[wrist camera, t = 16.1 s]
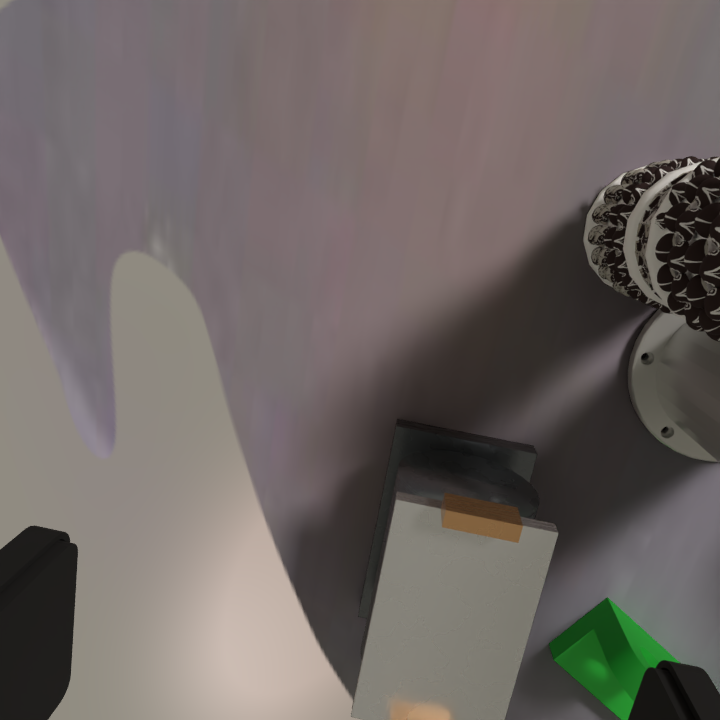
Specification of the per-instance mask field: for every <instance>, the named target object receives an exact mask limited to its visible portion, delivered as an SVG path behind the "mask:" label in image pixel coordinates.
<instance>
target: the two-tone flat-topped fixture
mask: <svg viewBox="0 0 720 720" xmlns="http://www.w3.org/2000/svg"><path fill="white" fill-rule="evenodd" d="M536 457H537V453H536V450H535V448H534V446H531V445H526V444H521V443H516V442H511V441H506V440H501V439H496V438H491V437H486V436H481V435H476V434H471V433H465V432H460V431H455V430H450V429H445V428H440V427H435V426H430V425H425V424H420V423H415V422H410V421H405V420H400V419H397V423H396V428H395V433H394V438H393V443H392V448H391V453H390V458H389V463H388V468H387V473H386V478H385V483H384V488H383V493H382V498H381V503H380V508H379V513H378V518H377V523H376V528H375V533H374V538H373V543H372V548H371V553H370V558H369V563H368V568H367V573H366V578H365V582H364V587H363V592H362V597H361V602H360V608H359V615H358V617H362V618H367V621H366V626H365V631H364V636H363V641H362V646H361V659H362V662H361V667H360V672H359V676H358V681H357V686H356V691H355V696H354V701H353V706H352V713H351V717H354V718H359V719H363V720H505V716H506V713H507V710H508V706H509V703H510V699H511V696H512V692H513V689H514V685H515V682H516V678H517V675H518V671H519V668H520V665H521V661H522V658H523V654H524V651H525V647H526V644H527V640H528V637H529V633H530V630H531V627H532V623H533V620H534V616H535V613H536V609H537V606H538V602H539V599H540V595H541V592H542V589H543V585H544V582H545V578H546V575H547V571H548V568H549V564H550V561H551V557H552V554H553V551H554V547H555V544H556V540H557V537H558V530H557V528H556V525H555V524H554V523H549V522H544V521H539V520H535V516H536V513H537V509H538V505H539V496H538V494H537V492H536V490H535V489H534V487H533V486H532V485H531V484H530V479H531V475H532V472H533V468H534V464H535V460H536Z"/></svg>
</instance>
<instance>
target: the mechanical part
mask: <svg viewBox="0 0 720 720" xmlns="http://www.w3.org/2000/svg"><path fill="white" fill-rule="evenodd" d="M549 646H550V649H551V653H552V656H553V660H554V661H555V662H556V663H558V664H559V665H560V666H561V667H562V668H563V669H564V670H565V671H567V672H568V673H569V674H570V675H571V676H572V677H573V678H575V679H576V680H577V681H578V682H579V683H580V684H581V685H582V686H584V687H585V688H586V689H587V690H588V691H589V692H590V693H592V694H593V695H594V696H595V697H596V698H597V699H598V700H600V701H601V702H602V703H603V704H604V705H605V706H606V707H607V708H609V709H610V710H611V711H612V712H613V713H614V714H615V715H617V716H618V717H619V718H620V719H621V720H628V718H629V715H630V712H631V709H632V707H633V704H634V701H635V698H636V695H637V692H638V690H639V687H640V684H641V681H642V678H643V675H644V673H645V671H646V670H647V669H648V668H649V667H653V668H656V666H657V664H658V663H659V662H660V661H663V660H667V661H672V662H676V663H679V662H678V661H677V660H676V659H675V658H674V657H673V656H672V655H671V654H670V653H668V652H667V651H666V650H665V649H664V648H663V647H662V646H661V645H660V644H658V643H657V642H656V641H655V640H654V639H653V638H652V637H651V636H650V635H649V634H647V633H646V632H645V631H644V630H643V629H642V628H641V627H640V626H639V625H637V624H636V623H635V622H634V621H633V620H632V619H631V618H630V617H629V616H627V615H626V614H625V613H624V612H623V611H622V610H621V609H620V608H619V607H618V606H616V605H615V604H614V603H613V602H612V601H611V600H610V599H609V598H608V597H607V598H606V599H605V600H604V601H602V602H601V603H600V604H599V605H597V606H596V607H595V608H593V609H592V610H591V611H590V612H588V613H587V614H586V615H585V616H583V617H582V618H581V619H580V620H578V621H577V622H576V623H574V624H573V625H572V626H571V627H569V628H568V629H567V630H566V631H564V632H563V633H562V634H561V635H559V636H558V637H557V638H555V639H554V640H553V641H552V642H550V643H549Z"/></svg>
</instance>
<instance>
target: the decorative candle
mask: <svg viewBox="0 0 720 720" xmlns="http://www.w3.org/2000/svg"><path fill="white" fill-rule="evenodd" d="M583 243H584V247H585V250H586V254H587V258H588V262H589V265H590V266H591V267H592V269H593V270H594V271H595V272H596V274H597V275H598V276H599V277H600V279H601V280H602V281H603V282H604V283H605V284H607V285H609V286H611V287H613V289H614V290H615V291H616V292H620V293H622V294H623V295H625V296H631V297H632V298H633V299H634V300H639V301H641V302H642V303H643V304H646V305H651V306H652V307H653V308H656V309H661V311H662V312H664V313H668V314H672V313H673V314H674V315H676V316H678V317H680V318H682V319H684V320H686V323H687V325H688V326H689V327H690V328H692V329H693V330H696V331H700V332H703V331H705V332H706V334H707V335H708V336H709V337H710V338H711V339H713V340H715V341H718V342H720V157H711V158H708V159H697V158H696V157H692V156H690V157H686V158H684V159H675V160H673V161H671V160H664V161H661V162H653V163H651V164H649V165H647V166H644V167H641V168H638V169H635V170H631V171H629V172H626V173H623V174H621V175H620V176H619V177H618V178H616V179H615V180H614V181H613V182H611V183H610V184H609V185H608V186H607V187H605V188H604V189H603V190H602V191H601V192H600V193H599V195H598V197H597V198H596V200H595V202H594V204H593V205H592V207H591V209H590V210H589V212H588V214H587V217H586V224H585V231H584V237H583Z"/></svg>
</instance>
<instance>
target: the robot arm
mask: <svg viewBox="0 0 720 720" xmlns="http://www.w3.org/2000/svg"><path fill="white" fill-rule="evenodd" d="M644 353H646V357H645V358H644V359H641V356H642V354H644ZM627 375H628V391H629V394H630V398H631V401H632V405H633V408H634V409H635V411H636V413H637V415H638V417H639V419H640V421H641V422H642V423H643V424H644V425H645V427H646V428H647V429H648V430H649V431H650V433H651V434H652V435H653V436H655V437H656V438H657V439H658V440H659V441H660V442H661V443H663V444H664V445H666V446H667V447H669V448H671V449H672V450H674V451H675V452H678V453H680V454H683V455H685V456H688V457H690V458H694V459H699V460H704V461H710V462H719V463H720V342H718V341H715V340H713V339H711V338H710V337H709V336H708V335H707V334H706V332H705V331H703V332H700V331H696V330H693V329H692V328H690V327H689V326H688V325H687V323H686V320H684V319H682V318H680V317H678V316H676V315H674V314H673V313H672V314H668V313H664V312H662V311H661V309H658V310H657V311H656V313H655V314H654V315H653V316H652V317H651V318H650V320H649V321H648V322H647V323H646V324H645V326H644V327H643V329H642V331H641V333H640V334H639V336H638V338H637V339H636V341H635V344H634V347H633V350H632V353H631V356H630V360H629V367H628V374H627ZM664 427H666V429H665V430H663V431H661V430H662V429H663V428H664ZM77 557H78V549H77V546H76V544H73V543H70V538H69V535H68V534H67V533H66V532H62V531H57V530H53V529H48V528H43V527H39V526H30V527H28V528H26V529H25V530H24V531H22V532H21V533H20V534H19V535H18V536H16V537H15V538H14V539H13V540H12V541H10V542H9V543H8V544H7V545H5V546H4V547H3V548H2V549H1V550H0V720H48V719H49V717H50V716H51V714H52V713H53V712H54V710H55V709H56V708H57V706H58V705H59V703H60V702H61V700H62V699H63V697H64V695H65V693H66V690H67V688H68V685H69V681H70V676H71V660H72V644H73V626H74V609H75V608H74V607H75V592H76V573H77ZM628 720H720V694H719V692H718V691H717V689H716V687H715V686H714V684H713V682H712V681H711V679H710V677H709V676H708V674H707V673H706V672H705V671H704V670H703V669H701V668H699V667H695V666H690V665H686V664H681V663H676V662H672V661H667V660H663V661H660V662H659V663H658V664H657V666H656V668H653V667H649V668H648V669H647V670H646V671H645V673H644V675H643V678H642V681H641V684H640V687H639V690H638V692H637V695H636V698H635V701H634V704H633V707H632V709H631V712H630V715H629V718H628Z"/></svg>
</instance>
